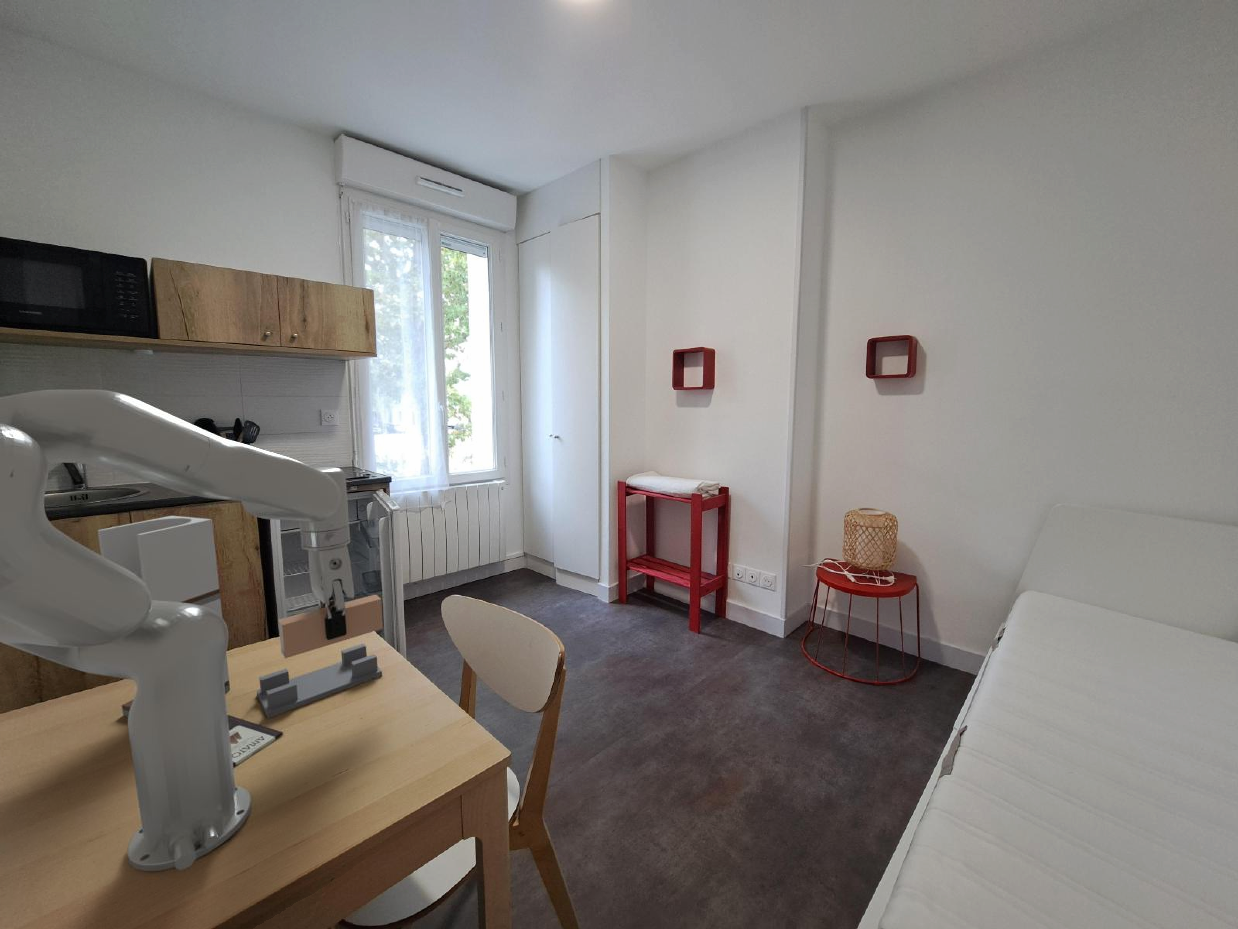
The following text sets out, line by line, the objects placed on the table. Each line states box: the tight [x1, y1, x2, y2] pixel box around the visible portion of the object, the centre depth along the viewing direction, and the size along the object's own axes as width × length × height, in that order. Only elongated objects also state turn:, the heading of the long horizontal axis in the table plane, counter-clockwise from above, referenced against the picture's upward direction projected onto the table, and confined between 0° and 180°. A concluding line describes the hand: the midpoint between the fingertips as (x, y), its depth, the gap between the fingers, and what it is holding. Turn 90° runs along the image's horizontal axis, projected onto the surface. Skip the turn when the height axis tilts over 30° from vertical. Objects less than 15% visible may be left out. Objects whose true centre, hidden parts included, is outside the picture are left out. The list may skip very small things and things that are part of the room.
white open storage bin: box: [97, 515, 231, 717], centre depth 92 cm, size 11×11×35 cm
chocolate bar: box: [227, 714, 284, 768], centre depth 84 cm, size 9×1×18 cm
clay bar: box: [278, 594, 384, 659], centre depth 90 cm, size 3×16×6 cm, turn 135°
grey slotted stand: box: [256, 643, 383, 719], centre depth 100 cm, size 10×20×4 cm, turn 135°
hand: (333, 632), depth 90 cm, fingers closed on clay bar, 3 cm apart
